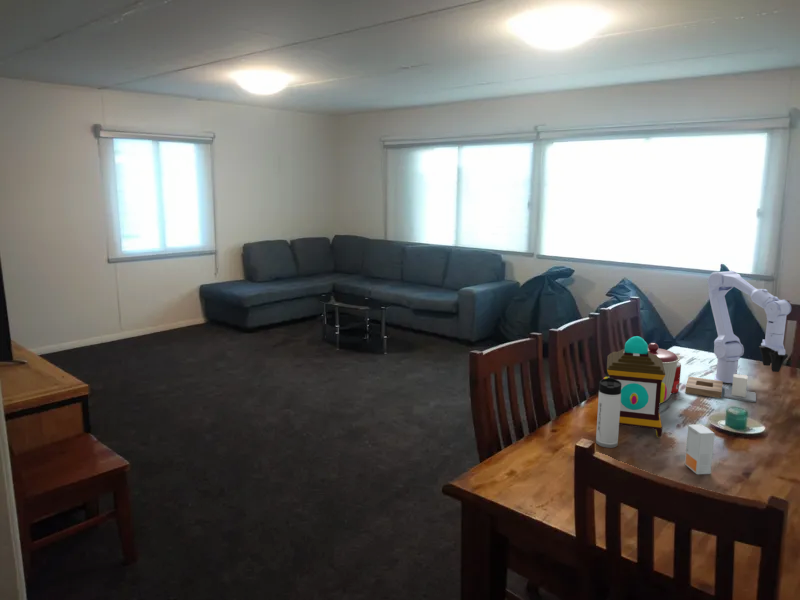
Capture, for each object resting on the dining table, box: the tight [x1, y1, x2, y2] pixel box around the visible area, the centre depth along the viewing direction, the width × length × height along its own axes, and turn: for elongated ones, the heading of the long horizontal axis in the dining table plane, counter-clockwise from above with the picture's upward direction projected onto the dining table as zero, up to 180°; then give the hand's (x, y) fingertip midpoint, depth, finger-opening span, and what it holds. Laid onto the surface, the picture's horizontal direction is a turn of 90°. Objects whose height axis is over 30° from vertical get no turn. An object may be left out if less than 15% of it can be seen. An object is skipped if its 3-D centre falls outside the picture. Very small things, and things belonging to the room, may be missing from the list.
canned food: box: [671, 361, 682, 394], centre depth 221 cm, size 8×8×11 cm
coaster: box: [724, 388, 757, 403], centre depth 216 cm, size 10×10×1 cm
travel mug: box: [595, 378, 622, 449], centre depth 174 cm, size 6×7×20 cm
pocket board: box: [684, 376, 724, 399], centre depth 222 cm, size 14×12×2 cm
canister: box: [647, 342, 681, 403], centre depth 212 cm, size 18×18×21 cm
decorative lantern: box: [602, 335, 667, 438], centre depth 187 cm, size 20×20×30 cm
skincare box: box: [684, 424, 716, 475], centre depth 158 cm, size 6×4×12 cm
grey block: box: [731, 373, 749, 397], centre depth 215 cm, size 4×4×7 cm
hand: (770, 368), depth 214 cm, fingers open, 7 cm apart
